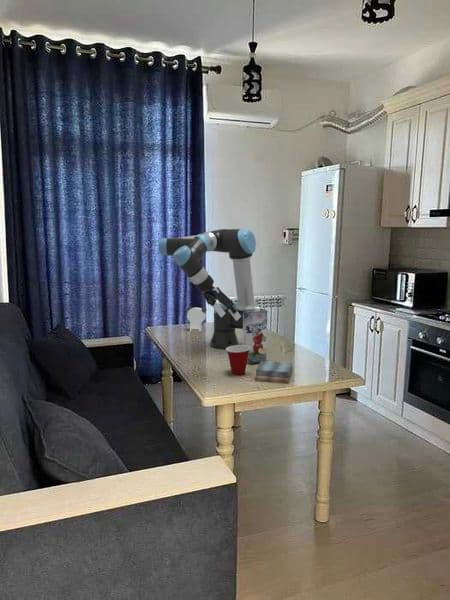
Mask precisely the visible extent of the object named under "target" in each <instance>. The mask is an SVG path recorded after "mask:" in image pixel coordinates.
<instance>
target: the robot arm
mask: <svg viewBox="0 0 450 600" xmlns="http://www.w3.org/2000/svg"><path fill="white" fill-rule="evenodd" d="M256 246H257V242H256V236H255V234H254V233H253V231H251V230H250V229H245V228H229V229H227V228H222V229H221V228H220V229H215V230H212V231H211V230H210V231H205V232H203V233H199V234H197V235H189V236H179V237H165V238H164V237H163V238H161V239H160V240H159V242H158V251H159V253H160V254H161V255H162V256H167V257H169V256H171V257H172V258H173V260H174V261H175V263H176V264H177V266H178V267H179V268H180V269H181V270H182V271H183V272H184V274H185V275H186V276H187V278H188V279H189V282H190V283H193V285H194V286H195V288H196V289H197V290H198V291H199V292H200V293H202V295H203V297H204V299H205V302H206V303H207V305H210V306H211V307H212V308H213V334H212V336H211V339H210V346H211V347H212V348H214V349H219V350H226V348H227V347H230V346H234V345H239V340H238V337H237V333H236V329H239V330H243V309H254V307H259V305H258V303H257V301H255V297H254V295H255V294H254V288H253V287H254V286H253V278H252V268H251V267H252V266H251V258H252V256H253V253H255V252H256V249H257V248H256ZM207 252H218V253H225V254H226V253H228V256H229V259H230V260H232V262H233V263H232V264H233V275H234V281H235V290H236V297H237V299H236V300H237V303H235V302H234V301H232V299H230V298H229V297H228V296H227V295H226V294H225V293H224V292H223V291H222V290H221V289H220V287H218V286H217V287H215V286H214V282H215V281H214V280H215V279H213V277H212V276H211V275H210V274H209V271H207V270H206V268H205V267H204V266H203V264H202V263H201V262H200V261H201V260H202V258H203V257H204V256H205V254H206V253H207ZM218 302H219V303H220V304H219V303H218Z"/></svg>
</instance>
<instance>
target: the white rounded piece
mask: <svg viewBox="0 0 450 600" xmlns="http://www.w3.org/2000/svg"><path fill="white" fill-rule="evenodd" d="M186 310H187V311H188V312H187V315H186V317H187V320H188V321H189V329H190V331H191V330H192V329H199V331H201V329H203V328H202V326H203V325H204V321H205V320H206V318H207V314H206V313H207V308H206V307H203V308H201V307H191V306H188V307H187V309H186Z"/></svg>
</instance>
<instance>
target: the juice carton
mask: <svg viewBox="0 0 450 600" xmlns="http://www.w3.org/2000/svg"><path fill="white" fill-rule="evenodd" d="M242 345H247V346H249V347H250V350H249V354H248V359H247V364H249V365H255V364H260V362H261V361H267V353H268V352H267V350H268V346H267V345H268V310H267V309H264V308H261V307H260V306H258V307H254V309H243V329H242Z"/></svg>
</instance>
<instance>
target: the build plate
mask: <svg viewBox="0 0 450 600" xmlns="http://www.w3.org/2000/svg"><path fill="white" fill-rule="evenodd" d="M292 372H293V362H285V361H284V362H283V361H269V360H266V361H261V362H260V363H258V366H257V368H256V369H255V377H254V381H255V382H262V383H263V382H264V383H274V384H275V383H276V384H287V385H289V382H290V378H291V376H292Z"/></svg>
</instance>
